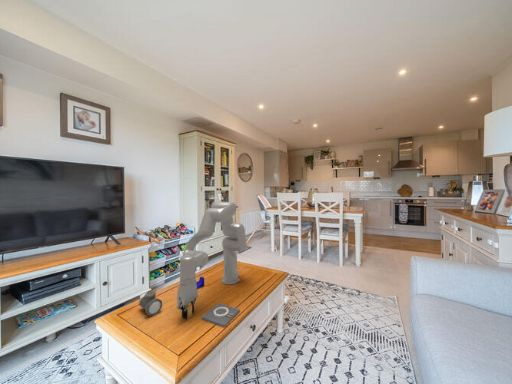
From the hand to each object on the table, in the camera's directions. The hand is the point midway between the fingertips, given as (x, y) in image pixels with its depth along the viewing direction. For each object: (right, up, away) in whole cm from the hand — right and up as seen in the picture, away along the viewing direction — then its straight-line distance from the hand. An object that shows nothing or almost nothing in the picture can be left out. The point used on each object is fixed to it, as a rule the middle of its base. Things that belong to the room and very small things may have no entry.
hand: (188, 314), depth 104 cm
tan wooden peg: (0, -1, 0) cm, 1 cm away
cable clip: (-5, -1, +29) cm, 29 cm away
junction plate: (+17, -1, +1) cm, 17 cm away
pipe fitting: (-22, -1, +4) cm, 22 cm away
